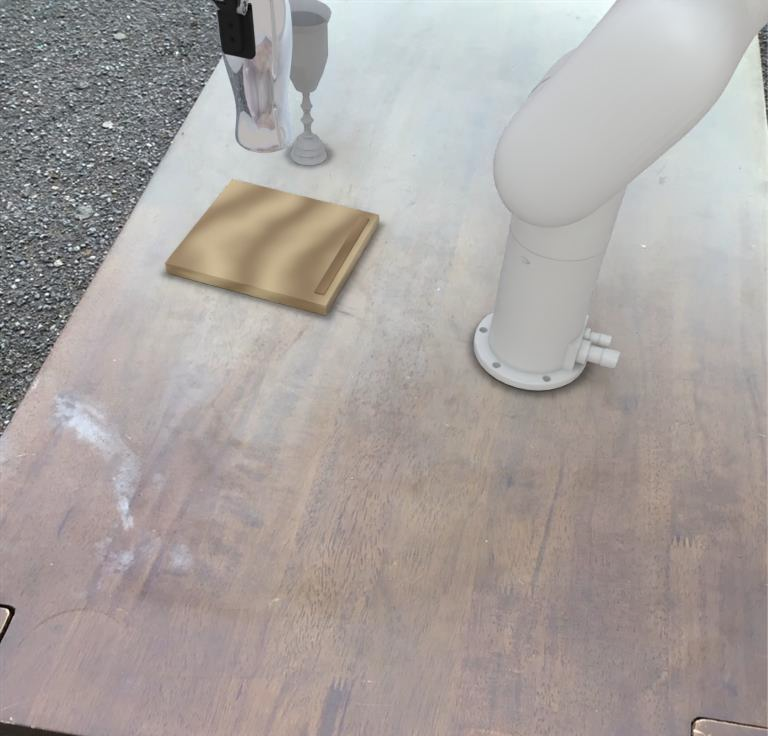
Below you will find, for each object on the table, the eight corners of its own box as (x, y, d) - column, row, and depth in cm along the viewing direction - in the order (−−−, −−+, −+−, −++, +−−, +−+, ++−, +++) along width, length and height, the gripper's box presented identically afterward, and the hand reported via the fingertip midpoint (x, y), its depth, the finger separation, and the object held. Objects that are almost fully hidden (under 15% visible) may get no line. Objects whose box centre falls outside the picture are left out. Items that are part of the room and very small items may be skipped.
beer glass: (288, 160, 83) (277, 0, 71) (222, 150, 84) (200, -10, 71) (305, 124, 87) (298, -34, 75) (242, 115, 88) (224, -43, 75)
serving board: (379, 225, 102) (379, 212, 101) (326, 315, 92) (325, 303, 91) (233, 189, 105) (231, 176, 104) (167, 273, 95) (164, 261, 94)
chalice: (341, 164, 109) (340, 21, 95) (293, 174, 108) (284, 30, 93) (323, 136, 113) (319, -6, 98) (276, 144, 112) (265, 2, 97)
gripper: (231, -165, 57) (255, 89, 72) (321, -231, 67) (326, 5, 81) (135, -181, 58) (178, 72, 73) (237, -243, 68) (257, -9, 82)
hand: (256, 35), depth 77 cm, fingers closed on beer glass, 7 cm apart
